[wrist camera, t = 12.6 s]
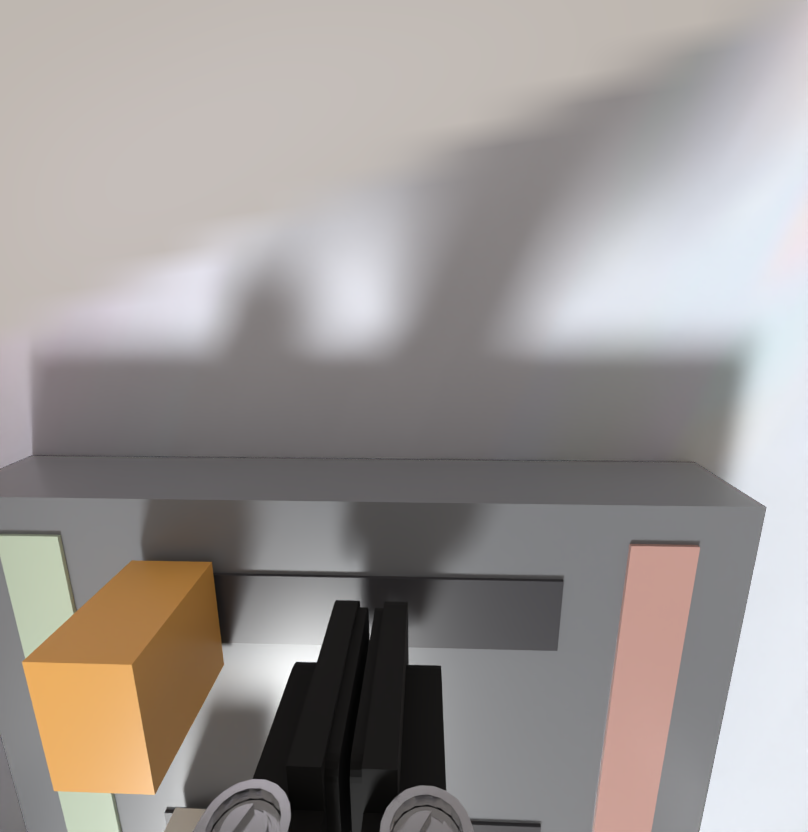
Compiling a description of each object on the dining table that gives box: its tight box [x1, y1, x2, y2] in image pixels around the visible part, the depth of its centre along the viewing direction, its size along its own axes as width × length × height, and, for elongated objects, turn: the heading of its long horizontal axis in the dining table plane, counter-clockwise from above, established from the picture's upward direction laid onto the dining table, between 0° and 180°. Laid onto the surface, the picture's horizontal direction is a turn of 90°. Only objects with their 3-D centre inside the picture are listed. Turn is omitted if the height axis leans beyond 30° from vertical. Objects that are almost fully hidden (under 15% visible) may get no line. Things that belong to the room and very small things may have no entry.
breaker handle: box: [22, 560, 224, 795], centre depth 10 cm, size 2×3×3 cm, turn 0°
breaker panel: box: [0, 456, 766, 832], centre depth 13 cm, size 20×14×7 cm
